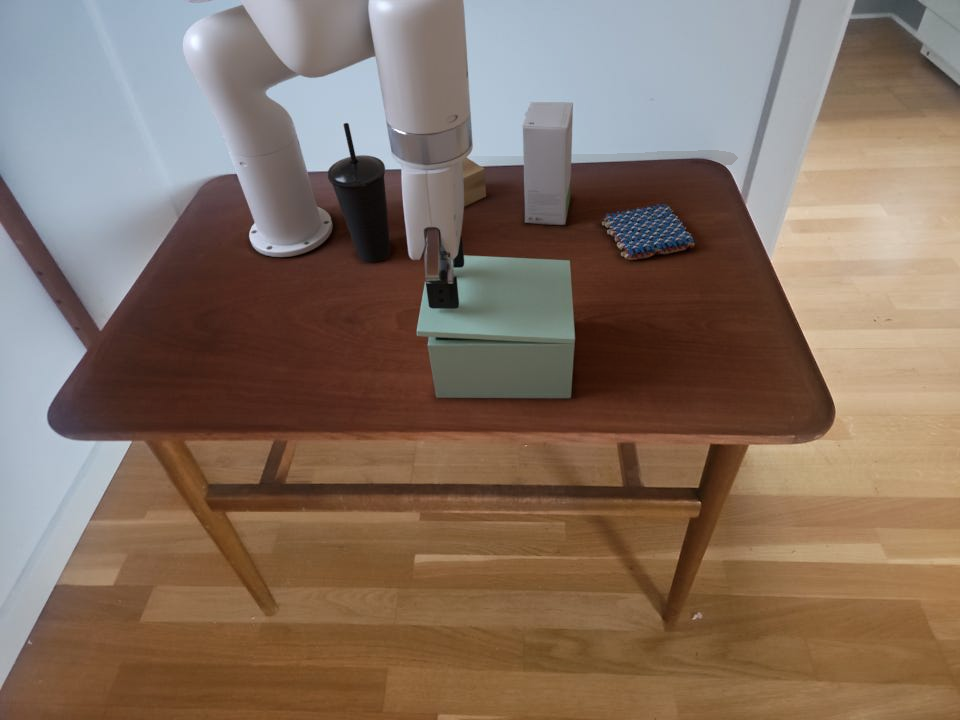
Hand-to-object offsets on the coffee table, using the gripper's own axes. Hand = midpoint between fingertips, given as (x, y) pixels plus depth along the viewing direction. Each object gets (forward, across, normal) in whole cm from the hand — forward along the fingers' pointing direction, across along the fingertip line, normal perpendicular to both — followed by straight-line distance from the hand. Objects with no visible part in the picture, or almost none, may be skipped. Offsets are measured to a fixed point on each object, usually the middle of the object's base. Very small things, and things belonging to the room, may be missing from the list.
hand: (447, 284), depth 71 cm
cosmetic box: (+12, -32, +11) cm, 36 cm away
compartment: (+12, 0, +6) cm, 13 cm away
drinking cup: (+12, -21, -14) cm, 28 cm away
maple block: (+12, -36, -2) cm, 38 cm away
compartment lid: (+2, 0, +5) cm, 6 cm away
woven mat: (+12, -24, +26) cm, 37 cm away
